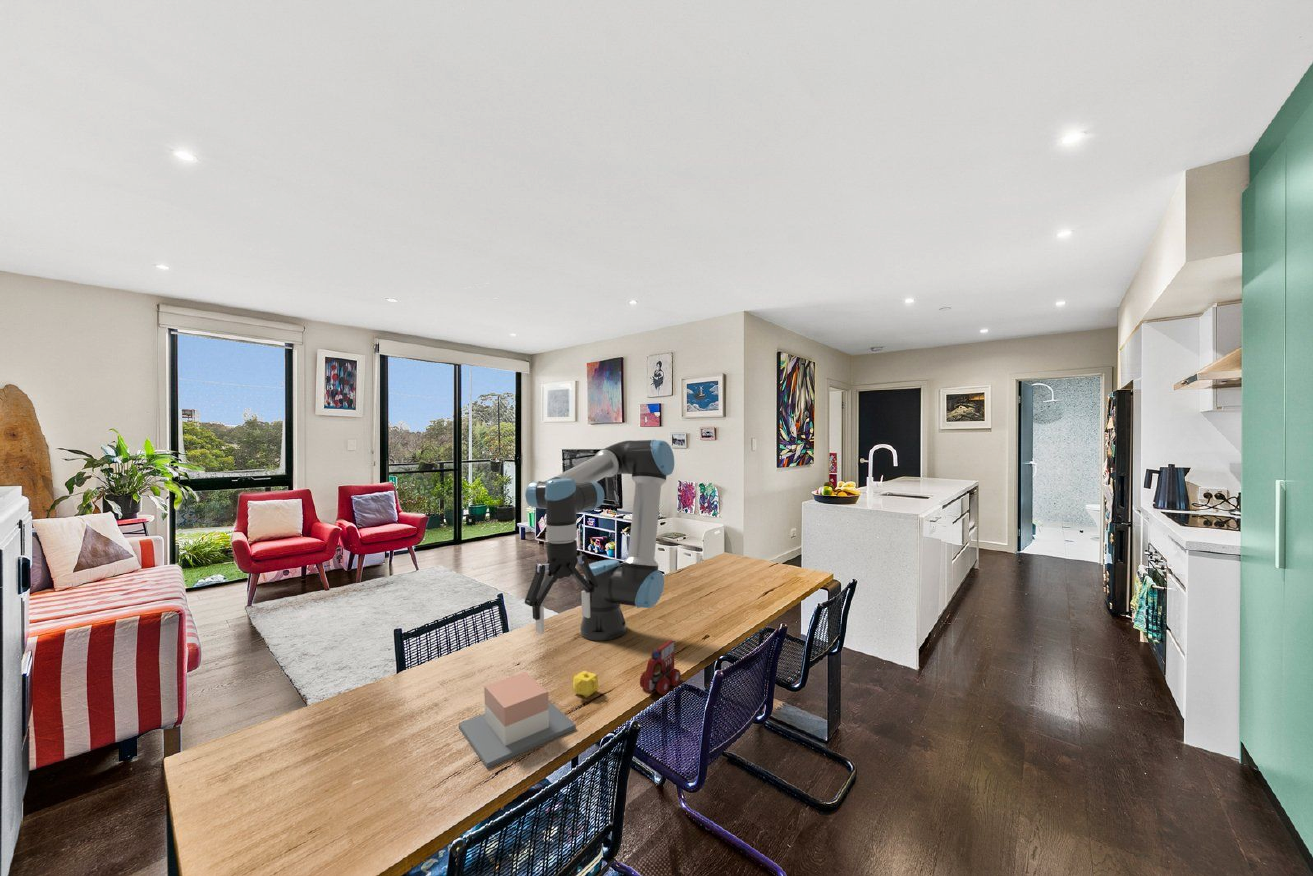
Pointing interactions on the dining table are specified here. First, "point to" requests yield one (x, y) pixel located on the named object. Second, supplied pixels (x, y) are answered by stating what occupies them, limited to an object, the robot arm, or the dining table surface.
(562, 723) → the tower base
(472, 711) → the dining table surface
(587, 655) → the dining table surface
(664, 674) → the toy fire truck
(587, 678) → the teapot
